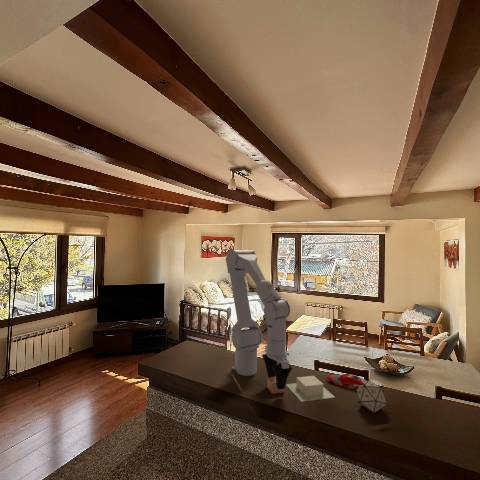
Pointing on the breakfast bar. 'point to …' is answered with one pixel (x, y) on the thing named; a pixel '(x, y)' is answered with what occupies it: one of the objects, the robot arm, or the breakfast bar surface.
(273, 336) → the robot arm
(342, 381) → the race car
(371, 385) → the game die
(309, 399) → the build plate
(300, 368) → the breakfast bar surface
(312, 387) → the base brick
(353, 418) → the breakfast bar surface
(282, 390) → the top brick
